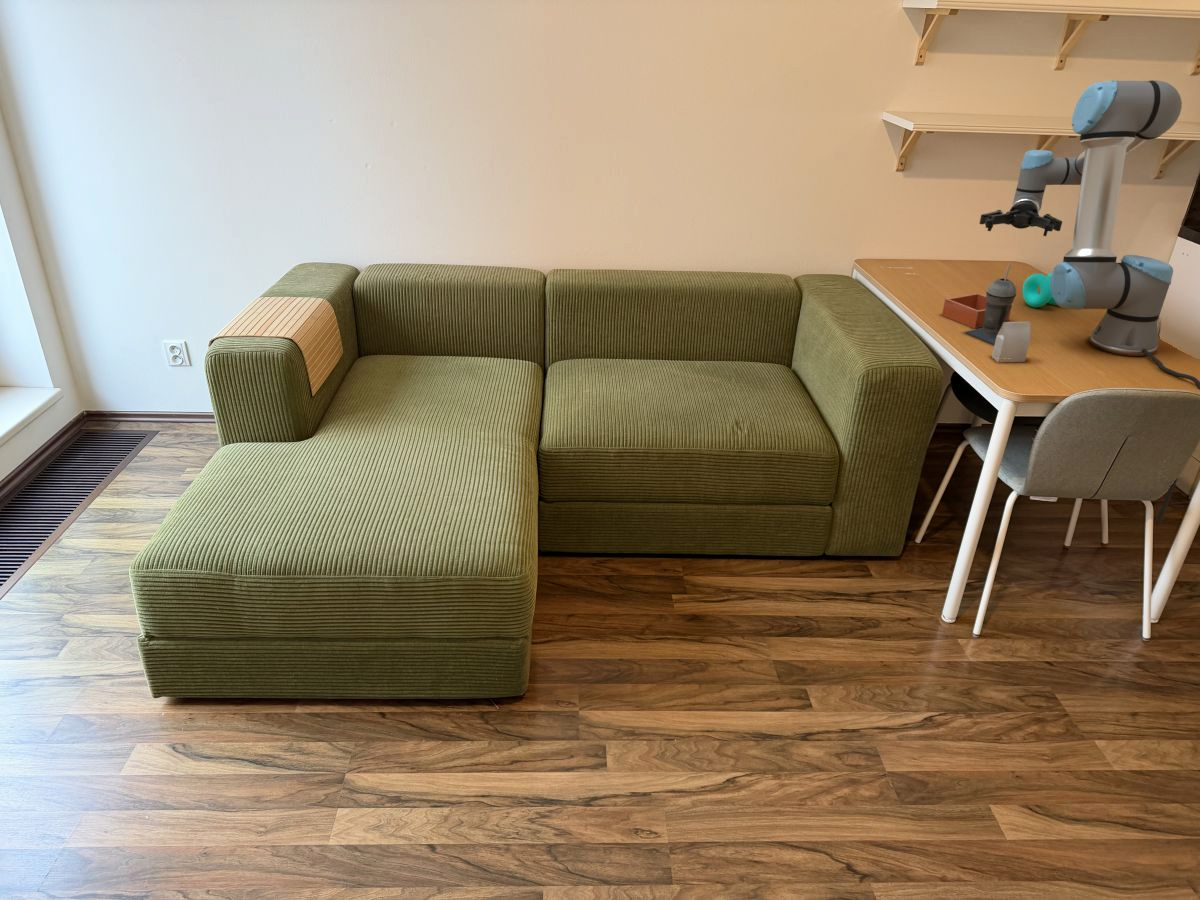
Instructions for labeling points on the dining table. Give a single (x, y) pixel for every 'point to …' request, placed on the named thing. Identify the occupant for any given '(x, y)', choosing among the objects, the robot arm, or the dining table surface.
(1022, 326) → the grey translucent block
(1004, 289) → the beverage cup
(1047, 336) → the dining table surface
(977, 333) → the pad
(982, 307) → the open reddish-brown box
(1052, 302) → the donuts
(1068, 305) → the robot arm
